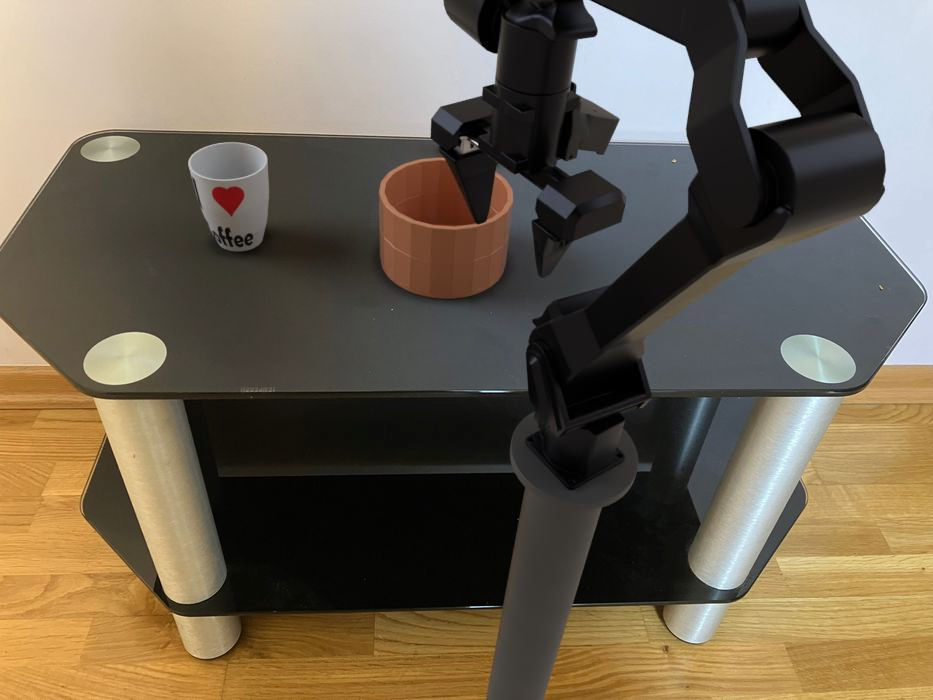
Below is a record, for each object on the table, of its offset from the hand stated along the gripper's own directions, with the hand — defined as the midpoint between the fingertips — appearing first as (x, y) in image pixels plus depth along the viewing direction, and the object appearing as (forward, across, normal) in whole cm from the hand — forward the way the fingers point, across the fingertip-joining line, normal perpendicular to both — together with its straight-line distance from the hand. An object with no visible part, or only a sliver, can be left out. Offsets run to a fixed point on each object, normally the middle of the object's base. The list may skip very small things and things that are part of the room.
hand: (511, 248), depth 69 cm
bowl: (+13, +16, -4) cm, 21 cm away
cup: (+13, +31, +14) cm, 37 cm away
